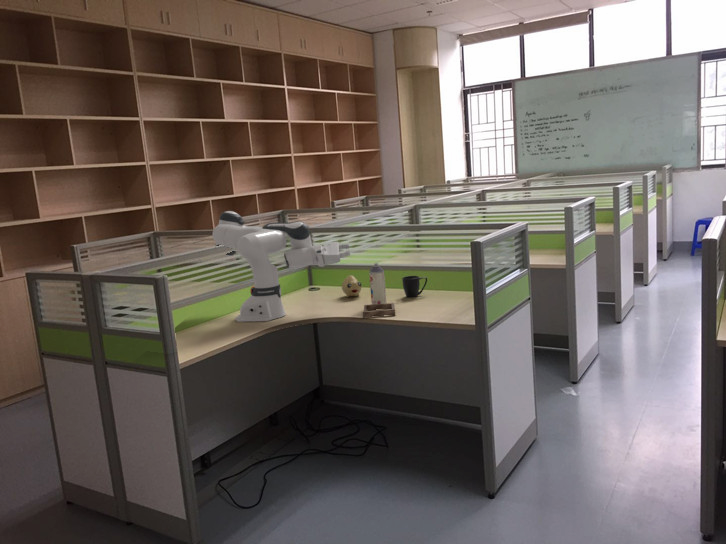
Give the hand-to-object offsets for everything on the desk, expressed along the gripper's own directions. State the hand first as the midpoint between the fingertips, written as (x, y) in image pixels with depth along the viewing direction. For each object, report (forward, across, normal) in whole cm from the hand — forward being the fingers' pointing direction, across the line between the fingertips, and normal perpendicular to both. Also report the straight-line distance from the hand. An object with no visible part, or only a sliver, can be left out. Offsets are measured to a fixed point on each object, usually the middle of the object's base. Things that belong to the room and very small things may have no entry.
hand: (349, 249), depth 281 cm
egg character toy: (-3, -18, -31) cm, 36 cm away
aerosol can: (+9, +8, -27) cm, 30 cm away
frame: (+9, +21, -24) cm, 33 cm away
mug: (+28, -7, -32) cm, 43 cm away
